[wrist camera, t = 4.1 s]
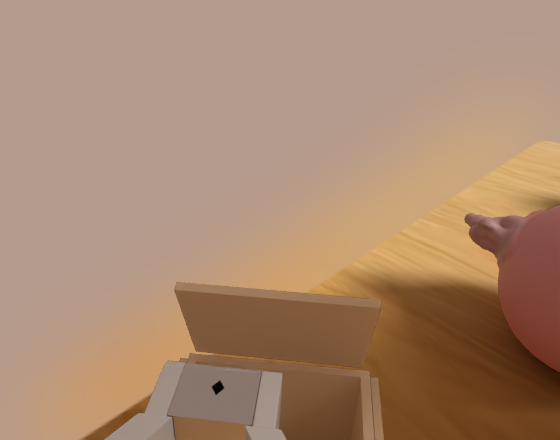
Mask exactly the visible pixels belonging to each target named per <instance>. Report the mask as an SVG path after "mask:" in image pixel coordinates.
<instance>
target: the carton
mask: <svg viewBox="0 0 560 440" xmlns="http://www.w3.org/2000/svg"><path fill="white" fill-rule="evenodd" d="M179 362H185V363H194V364H201V365H208V366H216V367H223V368H225V367H229V368H239V369H250V370H260V371H267V372H277V373H282V376H283V377H282V393H281V408H280V421H279V429H280V430H282V432H283V434H284V436H285V438H286V440H384V436H383V425H382V414H381V403H380V392H379V381H378V378H375V377H370V372H369V371H363V370H353V369H343V368H333V367H323V366H313V365H303V364H292V363H282V362H272V361H262V360H252V359H242V358H232V357H222V356H212V355H202V354H192V353H190V355H189V358H188V359H184V358H180V361H179Z"/></svg>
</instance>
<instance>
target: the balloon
mask: <svg viewBox="0 0 560 440" xmlns="http://www.w3.org/2000/svg"><path fill="white" fill-rule="evenodd" d="M465 222H466V223H467V224H468V225H469V226H470V227H471V228H470V230H469V235H470V237H471V239H472V240H473V241H474V242H475V243H476V244H477V245H479V246H480V247H481V248H483V249H485V250H488V251H490V252H492V253H493V254H494V255H495V257H496V258H497V264H498V267H499V276H498V293H499V299H500V304H501V307H502V311H503V313H504V316H505V318H506V321H507V323H508V325H509V326H510V328H511V330H512V331H513V333H514V334H515V336H516V337H517V338H518V340H519V341H520V342H521V343H522V344H523V345H524V347H525V348H526V349H527V350H528V351H529V352H531V353H532V354H533V355H534V356H535V357H536V358H538V359H539V360H540V361H542V362H543V363H544V364H546V365H547V366H549V367H551V368H552V369H554V370H556V371H558V372H560V205H557V206H555V207H553V208H550V209H548V210H540V211H535V212H532V213H530V214H529V215H528V216H527V217H520V216H506V217H496V218H490V217H485V216H482V215H475V214H473V213H470V214H467V215H466V216H465Z"/></svg>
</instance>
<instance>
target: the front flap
mask: <svg viewBox="0 0 560 440" xmlns="http://www.w3.org/2000/svg"><path fill="white" fill-rule="evenodd" d="M174 291H175V294H176V296H177V299H178V302H179V305H180V308H181V311H182V313H183V316H184V319H185V322H186V325H187V328H188V330H189V333H190V336H191V339H192V341H193V344H194V347H195V350H196V351H198V352H208V353H218V354H228V355H238V356H248V357H258V358H268V359H278V360H288V361H299V362H309V363H319V364H329V365H339V366H349V367H359V368H363V366H364V362H365V359H366V356H367V353H368V349H369V346H370V343H371V339H372V336H373V333H374V330H375V326H376V323H377V320H378V317H379V313H380V310H381V300H378V299H366V298H355V297H343V296H332V295H320V294H309V293H297V292H286V291H275V290H262V289H252V288H240V287H229V286H217V285H205V284H194V283H182V282H176V285H175V289H174Z"/></svg>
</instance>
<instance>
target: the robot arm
mask: <svg viewBox="0 0 560 440" xmlns="http://www.w3.org/2000/svg"><path fill="white" fill-rule="evenodd" d="M282 377H283V376H282V373H277V372H267V371H260V370H250V369H239V368H229V367H225V368H223V367H216V366H208V365H201V364H194V363H185V362H176V361H167V362H166V364H165V365H164V367H163V369H162V372H161V374H160V376H159V379H158V381H157V384H156V386H155V388H154V391H153V393H152V395H151V398H150V400H149V403H148V405H147V407H146V410H145V412H144V413H138V414H136V415H135V416H134V417H132V418H131V419H130V420H129V421H127V422H126V423H125V424H123V425H122V426H121V427H119V428H118V429H117V430H116V431H114V432H113V433H112V434H110V435H109V436H108V437H107V438H105V439H104V440H286V438H285V436H284V434H283V432H282V430H280V429H279V421H280V408H281V393H282Z"/></svg>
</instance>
